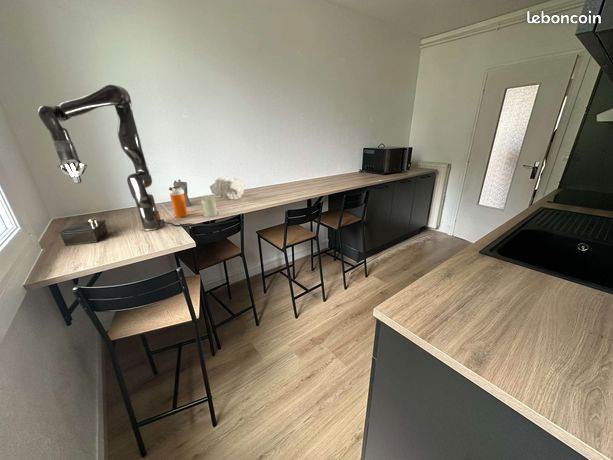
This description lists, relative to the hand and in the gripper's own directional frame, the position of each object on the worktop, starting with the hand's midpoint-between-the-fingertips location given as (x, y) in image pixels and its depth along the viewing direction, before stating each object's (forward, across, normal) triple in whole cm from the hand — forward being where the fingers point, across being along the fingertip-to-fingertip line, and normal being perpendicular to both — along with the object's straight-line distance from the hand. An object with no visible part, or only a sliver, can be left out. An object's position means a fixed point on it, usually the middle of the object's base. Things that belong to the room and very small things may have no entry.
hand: (78, 182), depth 135 cm
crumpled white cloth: (+29, +73, +51) cm, 94 cm away
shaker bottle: (+29, +43, +16) cm, 54 cm away
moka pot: (+29, +40, +40) cm, 64 cm away
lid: (+22, 0, -10) cm, 24 cm away
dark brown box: (+29, 0, -10) cm, 31 cm away
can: (+29, +62, +13) cm, 70 cm away
